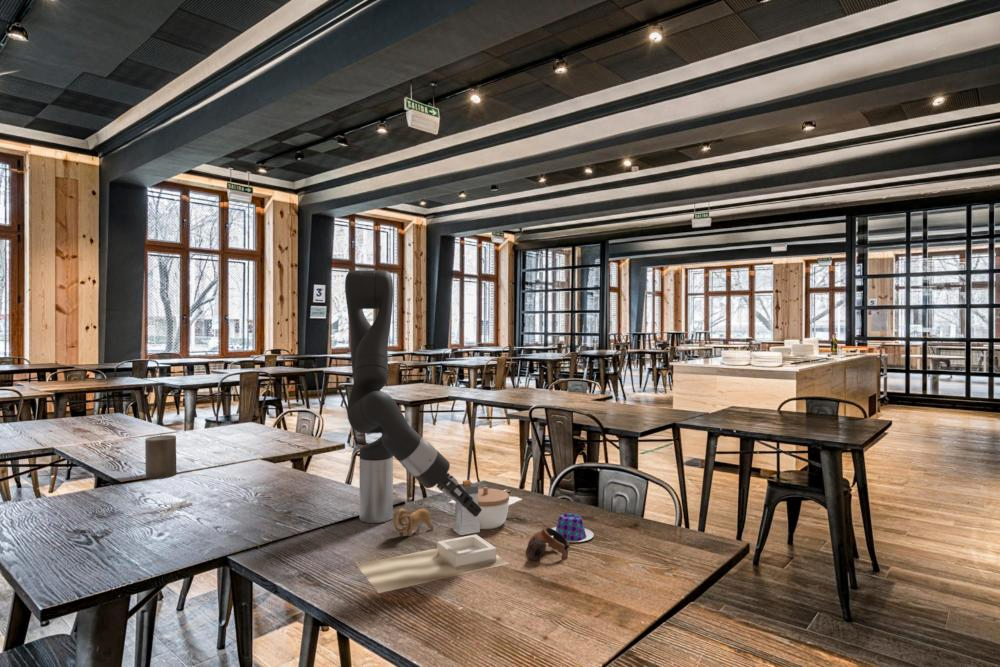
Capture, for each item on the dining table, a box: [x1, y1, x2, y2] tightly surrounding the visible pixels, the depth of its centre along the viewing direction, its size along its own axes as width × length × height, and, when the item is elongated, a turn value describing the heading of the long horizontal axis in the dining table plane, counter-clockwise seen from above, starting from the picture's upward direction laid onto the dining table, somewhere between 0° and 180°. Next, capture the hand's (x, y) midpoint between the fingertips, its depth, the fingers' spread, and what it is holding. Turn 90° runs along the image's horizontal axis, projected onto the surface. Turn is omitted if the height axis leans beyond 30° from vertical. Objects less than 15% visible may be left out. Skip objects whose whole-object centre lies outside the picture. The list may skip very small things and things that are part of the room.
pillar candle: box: [144, 433, 178, 480], centre depth 212 cm, size 10×10×15 cm
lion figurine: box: [392, 507, 434, 538], centre depth 152 cm, size 15×5×9 cm, turn 153°
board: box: [355, 548, 510, 594], centre depth 131 cm, size 16×30×2 cm, turn 119°
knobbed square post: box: [452, 479, 481, 536], centre depth 134 cm, size 4×5×11 cm
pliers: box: [128, 500, 193, 523], centre depth 171 cm, size 10×2×15 cm
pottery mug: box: [525, 526, 571, 561], centre depth 137 cm, size 12×10×8 cm
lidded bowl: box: [478, 486, 510, 530], centre depth 159 cm, size 13×13×11 cm
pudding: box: [551, 512, 595, 543], centre depth 154 cm, size 12×12×5 cm
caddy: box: [436, 533, 497, 570], centre depth 135 cm, size 10×10×3 cm
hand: (474, 510), depth 135 cm, fingers closed on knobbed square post, 3 cm apart
